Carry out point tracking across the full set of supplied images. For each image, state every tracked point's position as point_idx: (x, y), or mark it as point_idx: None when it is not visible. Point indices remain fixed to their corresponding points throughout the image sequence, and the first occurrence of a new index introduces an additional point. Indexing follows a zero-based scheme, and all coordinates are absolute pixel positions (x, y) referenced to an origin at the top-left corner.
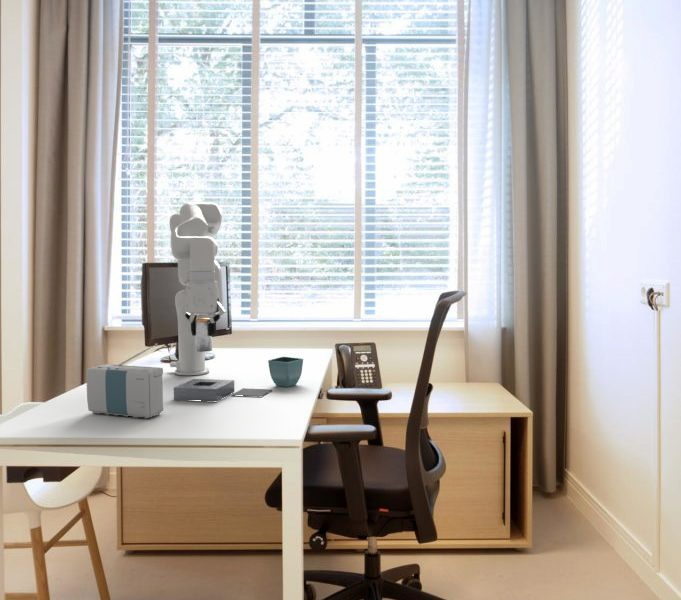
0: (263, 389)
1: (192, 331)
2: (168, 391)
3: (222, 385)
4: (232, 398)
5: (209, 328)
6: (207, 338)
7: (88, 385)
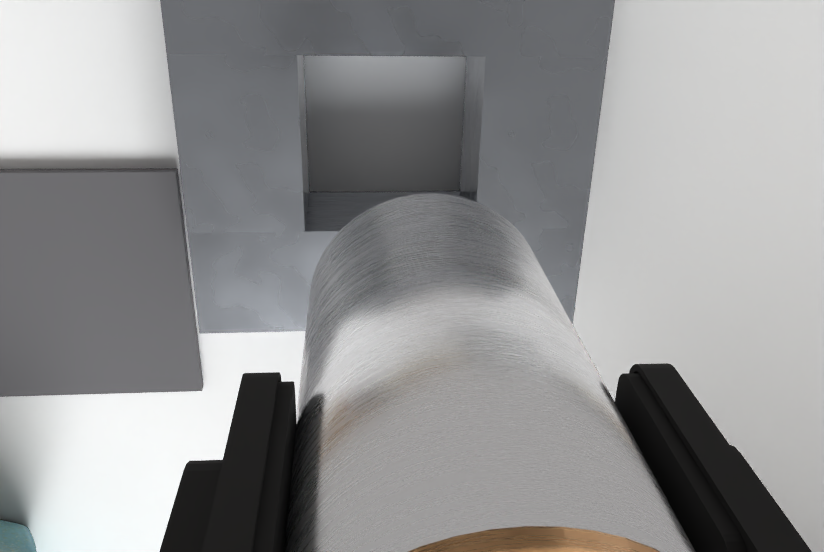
0: (26, 384)
1: (688, 403)
2: (736, 230)
3: (188, 105)
4: (126, 91)
5: (256, 468)
6: (328, 339)
7: None
